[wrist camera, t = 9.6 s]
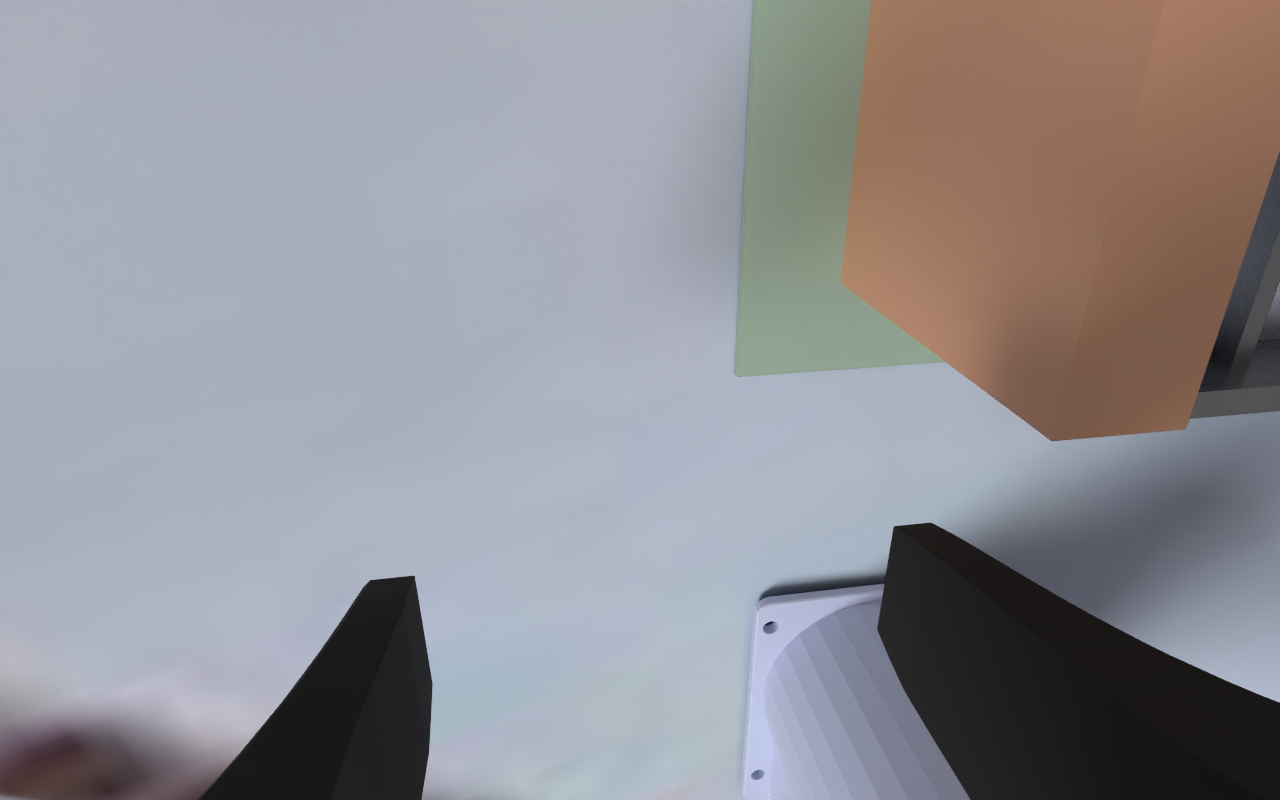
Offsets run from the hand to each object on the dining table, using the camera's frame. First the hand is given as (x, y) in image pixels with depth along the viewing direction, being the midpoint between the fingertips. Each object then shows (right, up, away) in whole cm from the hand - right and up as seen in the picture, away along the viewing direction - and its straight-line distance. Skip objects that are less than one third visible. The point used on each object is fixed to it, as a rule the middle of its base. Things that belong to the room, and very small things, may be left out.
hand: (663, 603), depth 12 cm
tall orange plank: (+6, +9, +8) cm, 14 cm away
